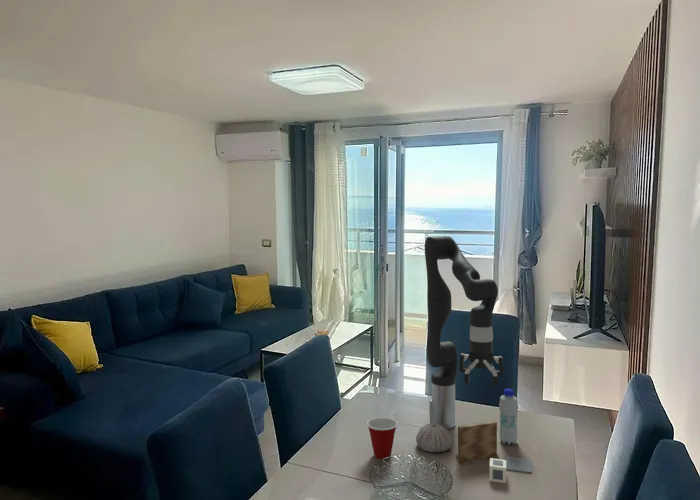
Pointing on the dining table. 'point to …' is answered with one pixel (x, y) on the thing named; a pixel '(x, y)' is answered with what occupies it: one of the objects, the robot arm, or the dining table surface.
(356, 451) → the dining table surface
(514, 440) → the bottle
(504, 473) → the white marker cube
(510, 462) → the slate coaster
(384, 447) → the plastic cup
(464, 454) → the walnut screen
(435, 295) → the robot arm
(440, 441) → the sea urchin shell
